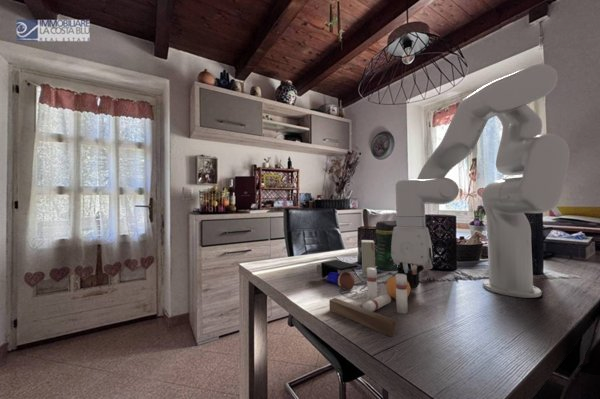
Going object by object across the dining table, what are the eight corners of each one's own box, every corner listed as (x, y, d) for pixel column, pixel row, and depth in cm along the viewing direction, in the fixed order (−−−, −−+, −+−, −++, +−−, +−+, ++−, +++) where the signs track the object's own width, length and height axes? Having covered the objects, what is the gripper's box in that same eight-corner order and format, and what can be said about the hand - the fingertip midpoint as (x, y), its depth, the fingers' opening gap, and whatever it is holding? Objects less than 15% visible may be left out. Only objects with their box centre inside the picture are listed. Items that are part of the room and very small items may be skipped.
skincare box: (376, 278, 83) (375, 242, 83) (362, 278, 84) (361, 242, 84) (374, 273, 89) (373, 239, 90) (362, 272, 90) (361, 239, 91)
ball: (380, 277, 66) (383, 300, 66) (401, 281, 61) (404, 305, 61) (392, 271, 69) (395, 292, 69) (413, 274, 65) (416, 297, 65)
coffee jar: (386, 272, 90) (385, 221, 91) (373, 267, 98) (371, 220, 98) (407, 269, 94) (405, 220, 94) (392, 264, 101) (390, 219, 102)
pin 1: (371, 299, 65) (370, 267, 66) (379, 301, 64) (378, 268, 64) (365, 301, 64) (365, 268, 64) (373, 304, 62) (373, 270, 62)
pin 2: (399, 308, 59) (398, 273, 59) (409, 311, 57) (408, 275, 58) (394, 311, 58) (393, 275, 58) (404, 314, 56) (403, 277, 56)
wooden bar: (335, 307, 60) (334, 297, 60) (396, 333, 48) (396, 320, 48) (329, 310, 59) (329, 300, 59) (391, 336, 47) (390, 323, 47)
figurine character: (315, 284, 83) (342, 292, 70) (314, 261, 84) (340, 265, 71) (332, 281, 86) (361, 288, 73) (330, 258, 87) (358, 262, 74)
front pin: (380, 296, 64) (360, 305, 58) (386, 291, 63) (366, 300, 57) (386, 305, 62) (366, 315, 57) (392, 300, 61) (372, 310, 56)
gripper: (380, 222, 73) (381, 283, 73) (432, 224, 62) (435, 297, 62) (393, 220, 78) (394, 278, 78) (444, 222, 67) (446, 290, 66)
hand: (412, 286), depth 70 cm, fingers closed
